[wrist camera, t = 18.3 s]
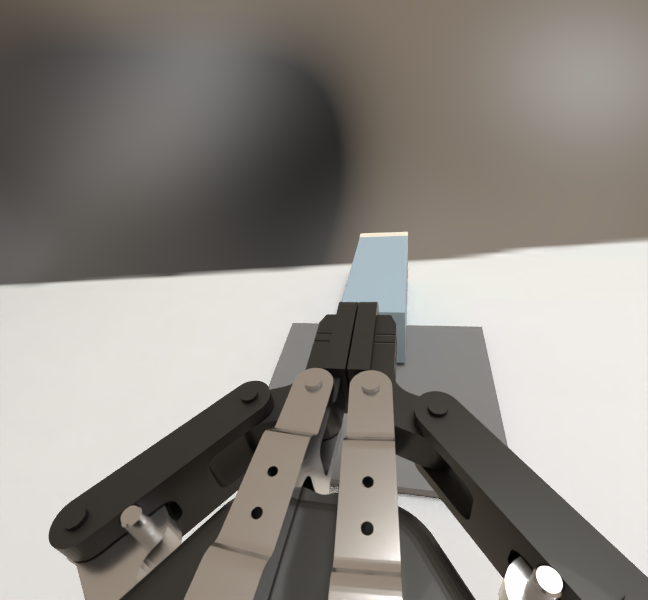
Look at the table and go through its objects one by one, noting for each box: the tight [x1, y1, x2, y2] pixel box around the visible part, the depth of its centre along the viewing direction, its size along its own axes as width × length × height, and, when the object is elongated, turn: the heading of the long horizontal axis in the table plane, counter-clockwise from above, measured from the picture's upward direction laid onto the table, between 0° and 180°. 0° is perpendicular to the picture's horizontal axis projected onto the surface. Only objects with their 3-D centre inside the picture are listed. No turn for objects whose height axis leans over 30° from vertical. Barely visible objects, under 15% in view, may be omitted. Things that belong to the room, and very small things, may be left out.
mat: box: [269, 323, 508, 498], centre depth 23 cm, size 14×12×1 cm
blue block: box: [342, 232, 408, 363], centre depth 28 cm, size 4×4×12 cm
